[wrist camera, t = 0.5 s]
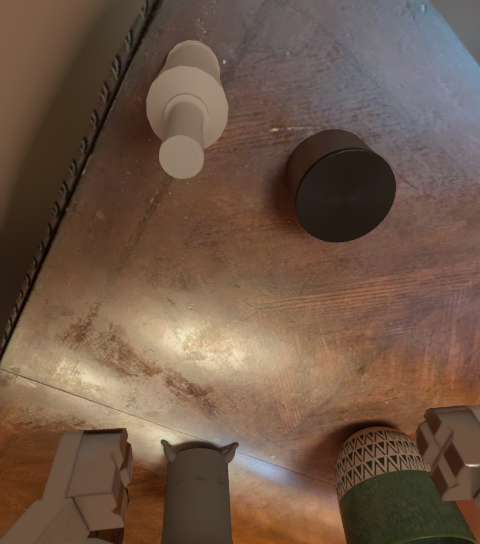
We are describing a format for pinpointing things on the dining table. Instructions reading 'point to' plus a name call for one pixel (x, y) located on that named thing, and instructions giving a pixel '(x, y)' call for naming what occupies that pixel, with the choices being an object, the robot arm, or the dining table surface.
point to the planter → (392, 493)
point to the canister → (339, 186)
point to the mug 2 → (197, 496)
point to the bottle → (187, 107)
